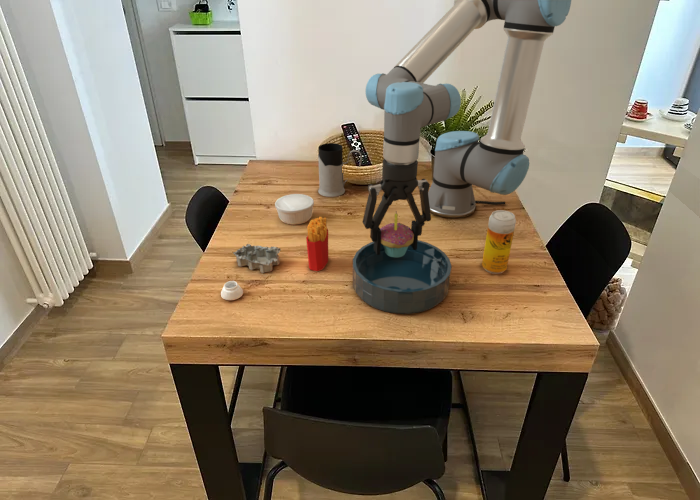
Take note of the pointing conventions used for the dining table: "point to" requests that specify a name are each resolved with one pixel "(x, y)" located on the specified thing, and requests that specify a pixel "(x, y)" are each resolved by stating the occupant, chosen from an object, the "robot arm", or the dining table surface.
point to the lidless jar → (231, 291)
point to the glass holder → (331, 169)
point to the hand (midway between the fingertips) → (395, 249)
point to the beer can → (498, 241)
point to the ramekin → (294, 208)
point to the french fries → (317, 244)
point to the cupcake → (396, 238)
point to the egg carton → (258, 257)
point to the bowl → (402, 278)
